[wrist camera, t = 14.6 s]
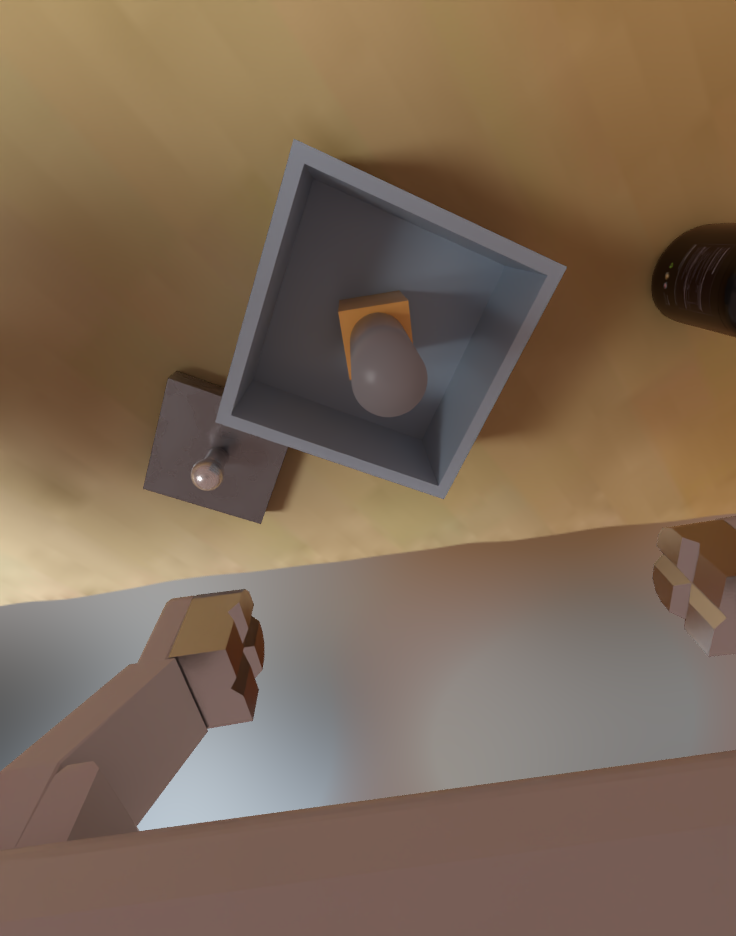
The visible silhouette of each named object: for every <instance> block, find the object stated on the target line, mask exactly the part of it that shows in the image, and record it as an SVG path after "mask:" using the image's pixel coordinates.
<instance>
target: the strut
mask: <svg viewBox="0 0 736 936" xmlns="http://www.w3.org/2000/svg"><path fill="white" fill-rule="evenodd" d="M338 314H339V320H340V326H341V332H342V337H343V343H344V349H345V355H346V361H347V367H348V373H349V379H350V380H351V382H352V389H353V393H354V395H355V397H356V399H357V401H358V402H359V404H360V405H361V406H362V407H363V408H364V409H366V410H367V411H369V412H370V413H372V414H375V415H378V416H382V417H395V416H399V415H402V414H405V413H407V412H409V411H410V410H412V409H413V408H414V407H415V406H416V405H417V404H418V403H419V402H420V400H421V399H422V397H423V396H424V393H425V391H426V387H427V381H428V377H427V370H426V367H425V364H424V362H423V360H422V358H421V357H420V355H419V353H418V352H417V350H416V348H415V347H414V345H413V339H412V330H411V320H410V311H409V301H408V299H407V298H406V297H405V296H404V295H403V294H402V293H401V292H400V290H398V291H392V292H386V293H380V294H373V295H367V296H361V297H355V298H349V299H343V300H339V308H338Z"/></svg>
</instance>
